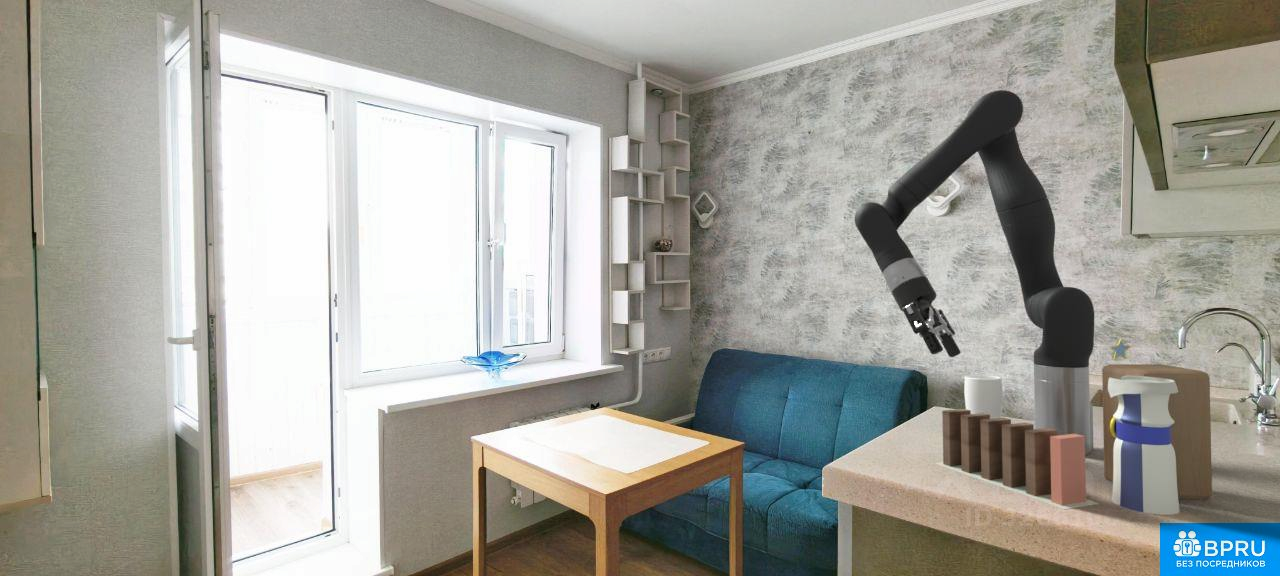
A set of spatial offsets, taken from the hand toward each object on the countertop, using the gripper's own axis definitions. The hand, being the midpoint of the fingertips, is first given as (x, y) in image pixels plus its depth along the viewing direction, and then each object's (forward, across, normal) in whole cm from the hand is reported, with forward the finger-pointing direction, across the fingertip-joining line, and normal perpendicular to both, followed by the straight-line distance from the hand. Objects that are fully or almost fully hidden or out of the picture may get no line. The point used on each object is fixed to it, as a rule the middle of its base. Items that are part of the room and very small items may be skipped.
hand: (947, 354), depth 116 cm
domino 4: (+26, -7, -2) cm, 27 cm away
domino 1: (+19, -2, +7) cm, 21 cm away
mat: (+25, -6, 0) cm, 26 cm away
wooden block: (+32, +7, -16) cm, 37 cm away
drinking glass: (+18, +14, +7) cm, 23 cm away
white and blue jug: (+34, -4, -15) cm, 37 cm away
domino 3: (+24, -5, +1) cm, 24 cm away
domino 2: (+22, -4, +4) cm, 22 cm away
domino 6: (+30, -10, -8) cm, 33 cm away
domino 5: (+28, -9, -5) cm, 30 cm away
